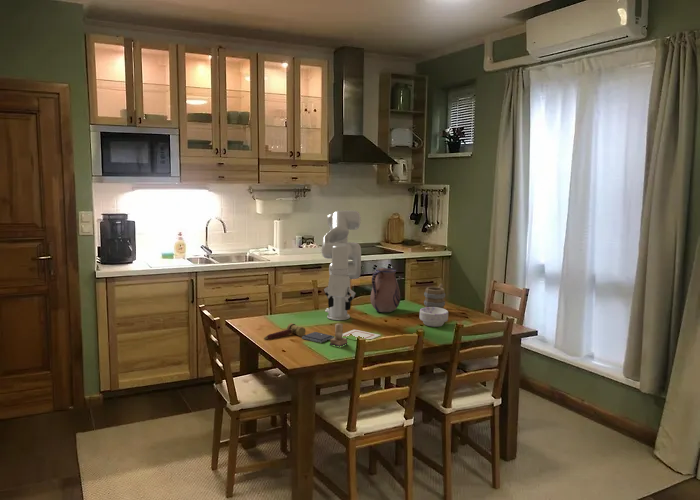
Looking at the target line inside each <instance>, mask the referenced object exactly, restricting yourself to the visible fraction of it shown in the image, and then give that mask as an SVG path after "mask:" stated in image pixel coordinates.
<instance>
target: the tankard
mask: <svg viewBox="0 0 700 500" xmlns="http://www.w3.org/2000/svg"><path fill="white" fill-rule="evenodd" d="M443 287H444V284H443V283H439V285H438V286H426V287H425V291H424V293H423V296H424V297H425V299H424V300H423V304H424V308H425V307H438V308H443V309H445V308H444V306H445V305H446V301H445V298H446V293H445V288H443Z"/></svg>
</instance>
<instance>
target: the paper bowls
mask: <svg viewBox="0 0 700 500" xmlns="http://www.w3.org/2000/svg"><path fill="white" fill-rule="evenodd" d="M418 319H420V321H422V323H423V324H424V325H425V326H426V327H427V326H428V327H435V328H436V327H442V326H444V324H445V323H446V322H448V321H449V311H448V310H447V309H446V308H444V309H443V308H438V307H425V306H424V307H422V308H420V309H419V318H418Z"/></svg>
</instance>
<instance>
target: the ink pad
mask: <svg viewBox="0 0 700 500" xmlns="http://www.w3.org/2000/svg"><path fill="white" fill-rule="evenodd" d="M333 338H335V335H330V334H328V333H322V332H319V331H318V332H317V331H314V332H311V333H307V334H305V335H303V336H301V339H302V340H306V341H310V342H314V343H318V342H320V343H319V344H323V343H322V342H324V343H326V342H328V341H327V340H329V341H330V339H333ZM325 341H326V342H325Z"/></svg>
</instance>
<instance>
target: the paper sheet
mask: <svg viewBox="0 0 700 500" xmlns="http://www.w3.org/2000/svg"><path fill="white" fill-rule="evenodd" d="M350 334H352V335H353V336H355V337H358V336H360V337H362V338H363V337H364V339H371V340H373V339H376V338H378V337H380V336H381V334H378V333H372V332H368V331H364V330H359V329H355V328H353V329H352V330H349V331H346V332H344V333H343V336H346V337H347V336H349V335H350ZM343 336H342V337H343ZM356 339H357V338H356Z"/></svg>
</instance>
